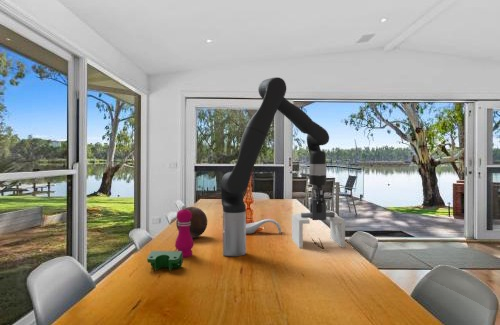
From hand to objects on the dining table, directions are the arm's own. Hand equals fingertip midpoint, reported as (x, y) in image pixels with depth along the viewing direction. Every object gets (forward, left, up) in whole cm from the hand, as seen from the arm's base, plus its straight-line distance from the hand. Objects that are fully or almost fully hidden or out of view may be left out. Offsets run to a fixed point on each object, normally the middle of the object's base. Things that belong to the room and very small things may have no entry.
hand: (317, 211), depth 176 cm
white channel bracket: (0, 0, -14) cm, 14 cm away
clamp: (-63, -35, -15) cm, 74 cm away
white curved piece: (-25, +28, -15) cm, 40 cm away
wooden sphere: (-58, +17, -15) cm, 62 cm away
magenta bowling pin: (-58, -17, -15) cm, 62 cm away
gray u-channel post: (0, 0, -3) cm, 3 cm away
